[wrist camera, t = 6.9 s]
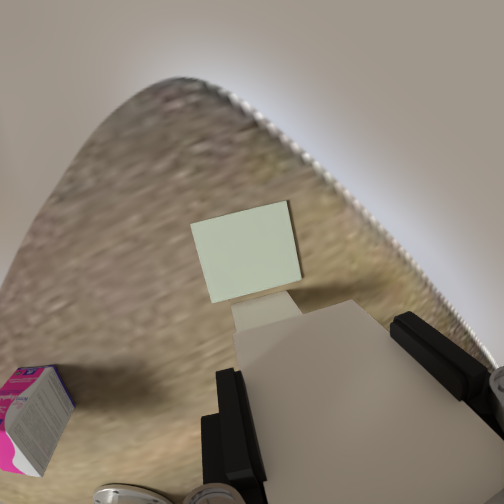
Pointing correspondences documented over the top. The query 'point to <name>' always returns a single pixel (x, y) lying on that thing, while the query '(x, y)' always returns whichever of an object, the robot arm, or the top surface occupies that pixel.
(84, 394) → the top surface
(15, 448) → the supplement box
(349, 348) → the end domino
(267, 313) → the domino
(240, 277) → the end pad
